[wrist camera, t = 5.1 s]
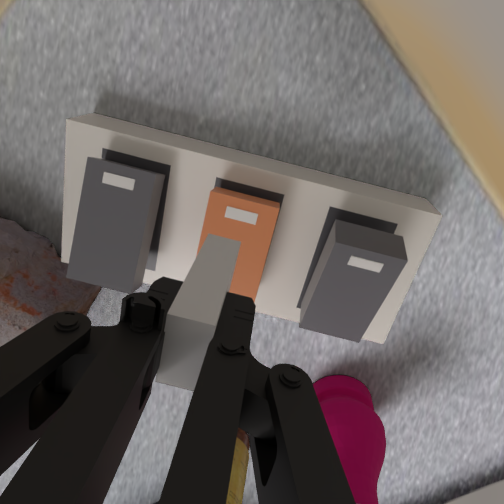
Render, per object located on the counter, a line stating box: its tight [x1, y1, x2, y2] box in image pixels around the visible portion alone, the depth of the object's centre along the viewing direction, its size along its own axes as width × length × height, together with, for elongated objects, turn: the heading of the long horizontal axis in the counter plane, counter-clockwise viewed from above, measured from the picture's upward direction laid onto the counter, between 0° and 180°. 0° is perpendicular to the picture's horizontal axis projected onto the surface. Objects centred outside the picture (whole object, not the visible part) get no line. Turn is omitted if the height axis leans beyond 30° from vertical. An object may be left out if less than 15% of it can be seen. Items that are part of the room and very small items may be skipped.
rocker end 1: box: [66, 157, 165, 294], centre depth 27 cm, size 4×8×2 cm, turn 167°
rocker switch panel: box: [61, 113, 442, 344], centre depth 32 cm, size 26×11×4 cm, turn 77°
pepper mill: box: [313, 375, 386, 504], centre depth 31 cm, size 7×7×20 cm
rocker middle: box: [196, 187, 280, 302], centre depth 28 cm, size 4×8×2 cm, turn 167°
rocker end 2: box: [299, 219, 408, 343], centre depth 28 cm, size 4×8×2 cm, turn 167°
